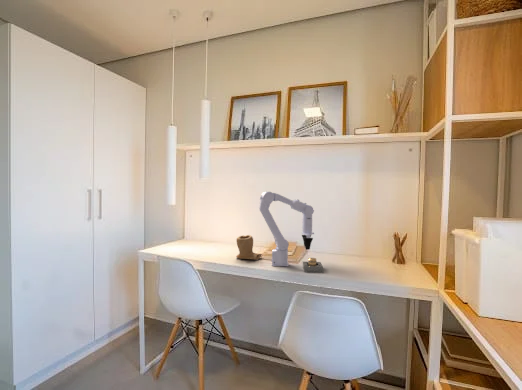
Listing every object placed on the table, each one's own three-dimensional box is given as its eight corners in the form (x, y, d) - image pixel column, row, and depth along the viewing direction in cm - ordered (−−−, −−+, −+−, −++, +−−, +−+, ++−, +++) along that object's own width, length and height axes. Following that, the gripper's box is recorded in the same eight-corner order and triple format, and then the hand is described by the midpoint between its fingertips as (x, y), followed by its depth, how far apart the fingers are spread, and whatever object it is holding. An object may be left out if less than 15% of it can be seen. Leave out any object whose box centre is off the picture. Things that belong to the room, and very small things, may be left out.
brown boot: (232, 260, 175) (233, 236, 174) (240, 256, 186) (240, 233, 186) (255, 262, 170) (256, 237, 170) (262, 258, 181) (262, 234, 181)
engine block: (304, 271, 152) (304, 266, 152) (302, 266, 162) (302, 261, 162) (323, 272, 151) (323, 266, 151) (320, 267, 161) (320, 261, 161)
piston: (308, 270, 154) (309, 259, 154) (307, 268, 159) (307, 257, 158) (317, 270, 154) (317, 259, 154) (315, 268, 159) (315, 257, 159)
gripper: (315, 227, 160) (315, 250, 160) (312, 223, 174) (312, 245, 175) (303, 226, 160) (302, 250, 161) (301, 223, 175) (300, 245, 175)
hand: (306, 248), depth 168 cm, fingers open, 7 cm apart
